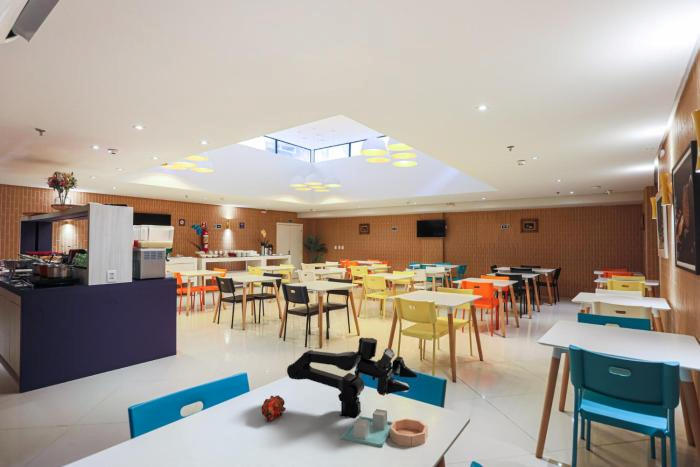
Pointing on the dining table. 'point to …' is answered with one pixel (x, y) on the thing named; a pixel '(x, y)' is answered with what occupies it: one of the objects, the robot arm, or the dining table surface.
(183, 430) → the dining table surface
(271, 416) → the dragon fruit
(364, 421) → the grey cardboard cube
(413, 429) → the bowl
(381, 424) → the cube
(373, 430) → the tray
